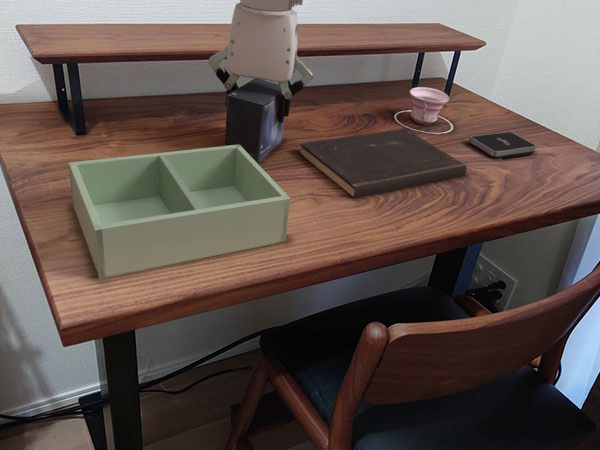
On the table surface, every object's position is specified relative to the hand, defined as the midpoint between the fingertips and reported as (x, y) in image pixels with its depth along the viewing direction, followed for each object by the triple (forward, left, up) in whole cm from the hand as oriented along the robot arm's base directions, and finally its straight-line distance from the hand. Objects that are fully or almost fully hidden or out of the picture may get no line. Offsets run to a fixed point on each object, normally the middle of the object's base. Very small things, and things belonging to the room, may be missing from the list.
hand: (257, 115), depth 88 cm
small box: (0, 0, -7) cm, 7 cm away
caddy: (-5, -26, -6) cm, 27 cm away
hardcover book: (+21, +1, -7) cm, 22 cm away
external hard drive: (+44, +17, -6) cm, 48 cm away
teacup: (+30, +25, -6) cm, 39 cm away
